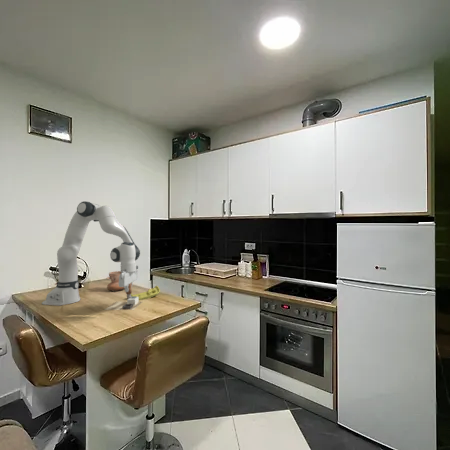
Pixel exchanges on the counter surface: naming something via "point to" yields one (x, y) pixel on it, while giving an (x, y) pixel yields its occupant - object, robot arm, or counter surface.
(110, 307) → the beige flat block
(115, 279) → the ceramic jug
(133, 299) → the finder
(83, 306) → the counter surface
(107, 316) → the counter surface
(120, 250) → the robot arm
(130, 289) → the brown rounded cylinder
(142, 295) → the plastic component
